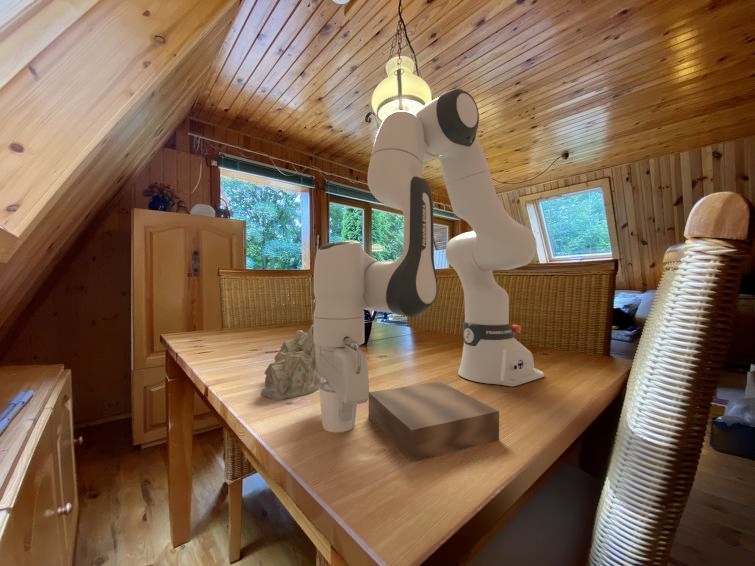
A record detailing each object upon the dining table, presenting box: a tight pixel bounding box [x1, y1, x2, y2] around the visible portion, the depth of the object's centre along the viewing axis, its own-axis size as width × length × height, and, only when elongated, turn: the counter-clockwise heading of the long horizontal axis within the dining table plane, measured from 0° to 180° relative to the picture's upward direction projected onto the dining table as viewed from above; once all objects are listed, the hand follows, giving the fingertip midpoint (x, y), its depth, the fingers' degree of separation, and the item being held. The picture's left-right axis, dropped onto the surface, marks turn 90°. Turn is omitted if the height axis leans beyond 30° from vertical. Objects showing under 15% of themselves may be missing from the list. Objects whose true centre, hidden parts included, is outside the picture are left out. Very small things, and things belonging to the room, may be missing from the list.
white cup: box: [318, 381, 358, 433], centre depth 55 cm, size 7×7×7 cm
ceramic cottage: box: [260, 324, 325, 401], centre depth 75 cm, size 16×16×15 cm
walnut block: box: [368, 381, 500, 464], centre depth 54 cm, size 16×16×5 cm
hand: (339, 411), depth 55 cm, fingers open, 5 cm apart
